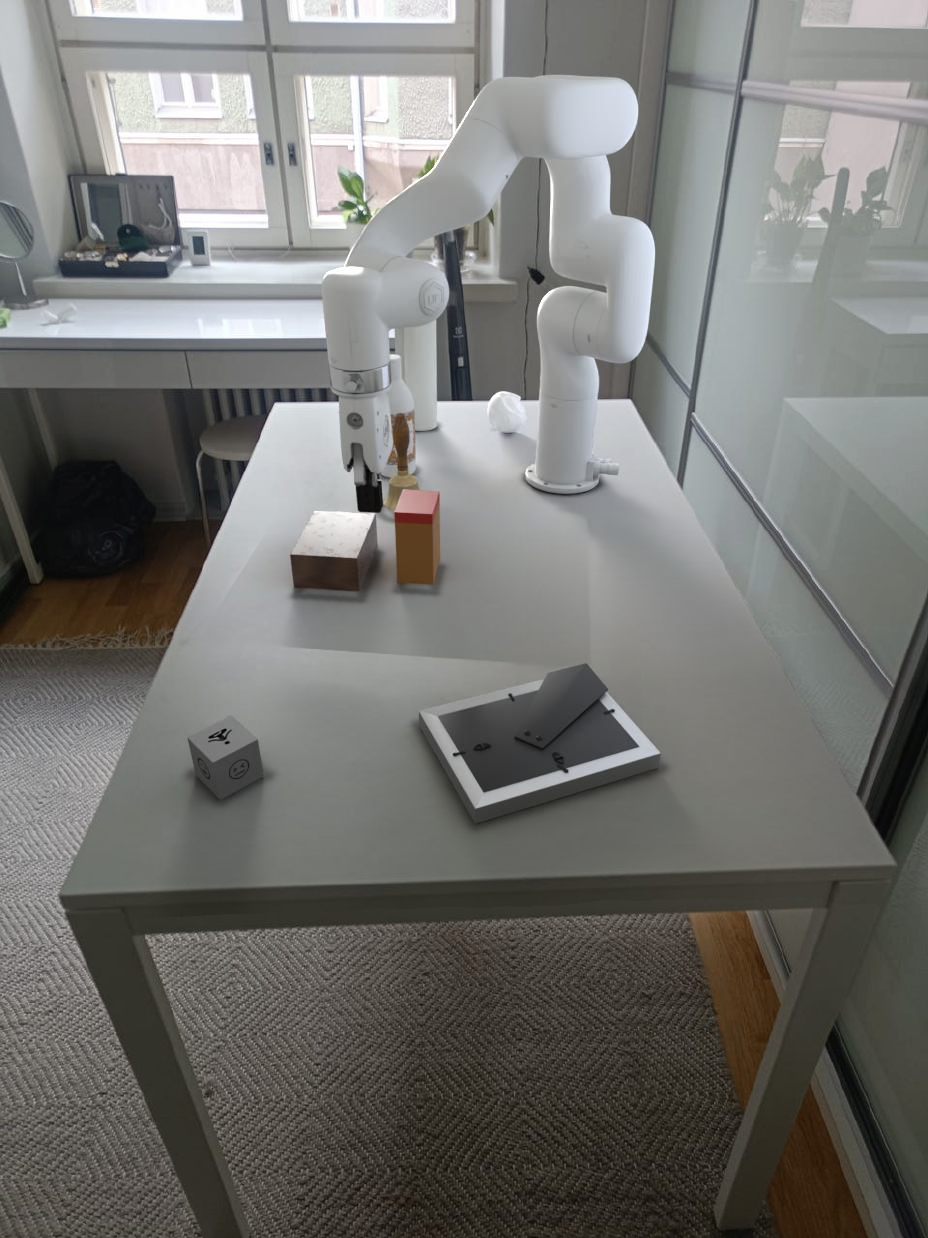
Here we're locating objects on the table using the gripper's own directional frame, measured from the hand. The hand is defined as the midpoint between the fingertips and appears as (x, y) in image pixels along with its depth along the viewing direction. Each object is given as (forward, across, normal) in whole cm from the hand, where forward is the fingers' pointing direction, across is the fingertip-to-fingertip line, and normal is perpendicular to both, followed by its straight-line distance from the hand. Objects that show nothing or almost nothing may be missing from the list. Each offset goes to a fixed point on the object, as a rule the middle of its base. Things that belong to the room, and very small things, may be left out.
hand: (370, 509), depth 118 cm
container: (+9, -1, -3) cm, 10 cm away
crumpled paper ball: (+12, +56, -15) cm, 59 cm away
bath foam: (+11, +35, +3) cm, 37 cm away
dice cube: (+10, -42, +7) cm, 43 cm away
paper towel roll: (+11, +57, +2) cm, 59 cm away
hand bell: (+11, +20, -1) cm, 23 cm away
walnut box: (+10, -1, +5) cm, 11 cm away
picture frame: (+10, -34, -24) cm, 42 cm away
